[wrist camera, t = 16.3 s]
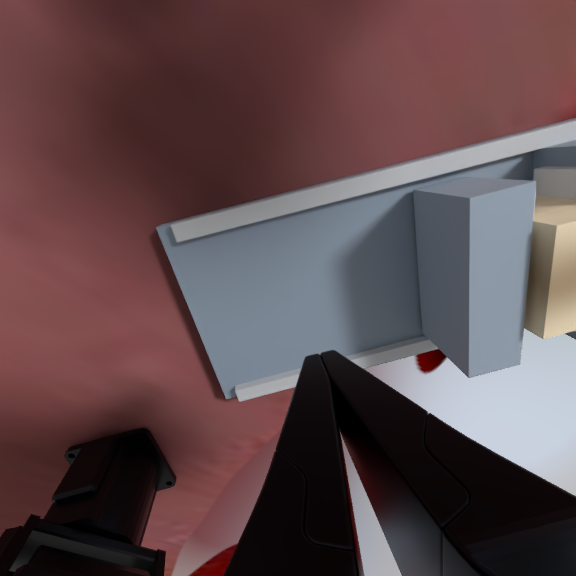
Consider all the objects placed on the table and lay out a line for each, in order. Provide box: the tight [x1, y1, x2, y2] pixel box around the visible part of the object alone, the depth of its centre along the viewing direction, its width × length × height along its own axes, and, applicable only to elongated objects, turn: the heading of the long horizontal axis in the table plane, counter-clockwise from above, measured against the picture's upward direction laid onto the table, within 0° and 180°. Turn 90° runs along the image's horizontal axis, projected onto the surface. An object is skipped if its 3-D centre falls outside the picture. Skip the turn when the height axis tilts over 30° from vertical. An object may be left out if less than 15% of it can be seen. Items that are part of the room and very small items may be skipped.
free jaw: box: [413, 177, 536, 378], centre depth 17 cm, size 10×4×5 cm, turn 14°
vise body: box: [156, 118, 576, 402], centre depth 18 cm, size 13×26×6 cm, turn 104°
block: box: [524, 196, 576, 339], centre depth 17 cm, size 6×4×6 cm, turn 14°
